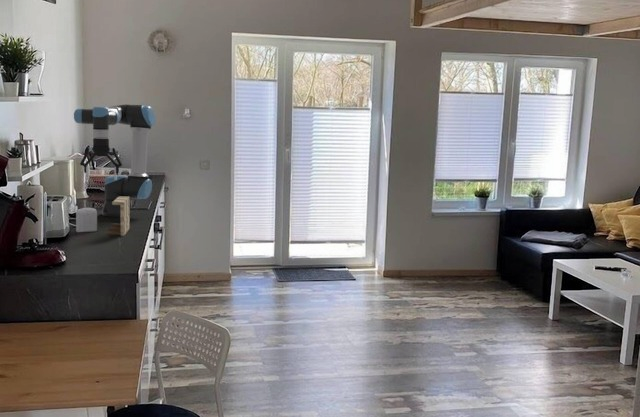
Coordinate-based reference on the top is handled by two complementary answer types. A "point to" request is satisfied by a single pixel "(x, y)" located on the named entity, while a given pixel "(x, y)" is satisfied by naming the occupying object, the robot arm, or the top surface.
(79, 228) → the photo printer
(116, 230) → the shelf
